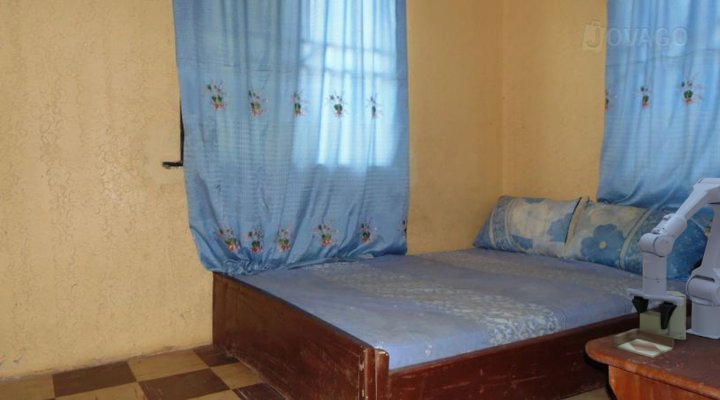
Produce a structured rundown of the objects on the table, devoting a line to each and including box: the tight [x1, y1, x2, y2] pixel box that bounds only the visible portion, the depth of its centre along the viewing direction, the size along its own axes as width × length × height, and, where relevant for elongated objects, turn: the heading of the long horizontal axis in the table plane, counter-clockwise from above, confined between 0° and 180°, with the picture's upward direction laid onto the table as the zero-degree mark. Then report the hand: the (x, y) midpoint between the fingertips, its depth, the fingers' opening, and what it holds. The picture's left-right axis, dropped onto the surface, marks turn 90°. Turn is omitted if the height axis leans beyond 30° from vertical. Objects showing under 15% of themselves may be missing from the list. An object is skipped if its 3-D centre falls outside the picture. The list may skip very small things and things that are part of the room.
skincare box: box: [661, 290, 687, 340], centre depth 149 cm, size 6×4×12 cm
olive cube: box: [639, 310, 668, 335], centre depth 147 cm, size 5×5×5 cm
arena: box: [613, 328, 675, 358], centre depth 140 cm, size 11×10×3 cm
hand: (653, 326), depth 147 cm, fingers closed on olive cube, 5 cm apart
